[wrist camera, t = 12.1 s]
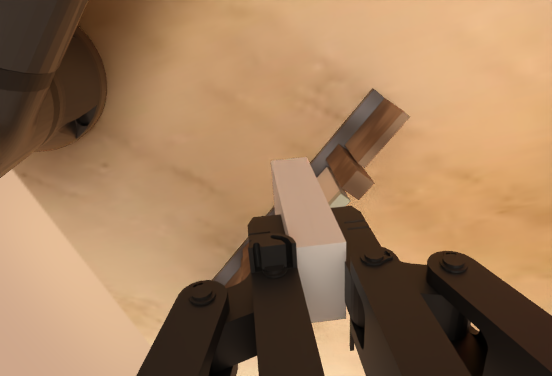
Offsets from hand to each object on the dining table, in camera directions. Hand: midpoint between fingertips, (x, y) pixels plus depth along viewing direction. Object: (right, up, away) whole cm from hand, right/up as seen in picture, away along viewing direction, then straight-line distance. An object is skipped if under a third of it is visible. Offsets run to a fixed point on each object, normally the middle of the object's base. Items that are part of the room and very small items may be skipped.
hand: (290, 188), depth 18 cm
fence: (+1, -4, +36) cm, 37 cm away
